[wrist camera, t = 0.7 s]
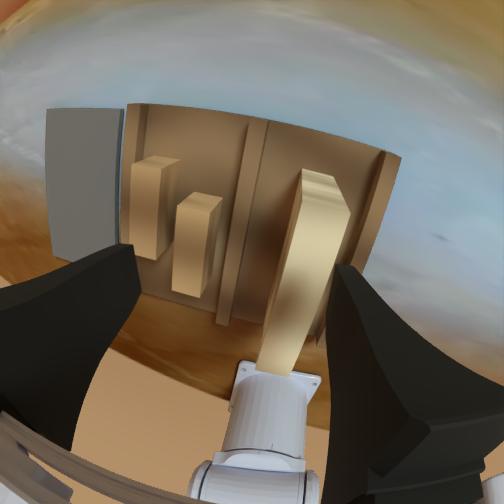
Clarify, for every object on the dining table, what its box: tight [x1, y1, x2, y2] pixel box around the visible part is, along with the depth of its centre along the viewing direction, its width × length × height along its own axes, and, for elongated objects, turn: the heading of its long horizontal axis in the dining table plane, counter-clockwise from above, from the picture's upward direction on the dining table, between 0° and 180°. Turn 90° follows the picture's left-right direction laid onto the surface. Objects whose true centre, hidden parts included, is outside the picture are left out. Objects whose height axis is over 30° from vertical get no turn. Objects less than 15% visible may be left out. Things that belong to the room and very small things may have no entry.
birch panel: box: [255, 169, 351, 377], centre depth 17 cm, size 10×2×7 cm, turn 169°
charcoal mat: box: [45, 108, 124, 262], centre depth 21 cm, size 14×8×1 cm, turn 169°
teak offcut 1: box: [129, 156, 181, 260], centre depth 19 cm, size 6×2×3 cm, turn 169°
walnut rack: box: [121, 103, 402, 349], centre depth 20 cm, size 15×17×2 cm
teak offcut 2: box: [172, 192, 223, 298], centre depth 19 cm, size 6×2×3 cm, turn 169°
